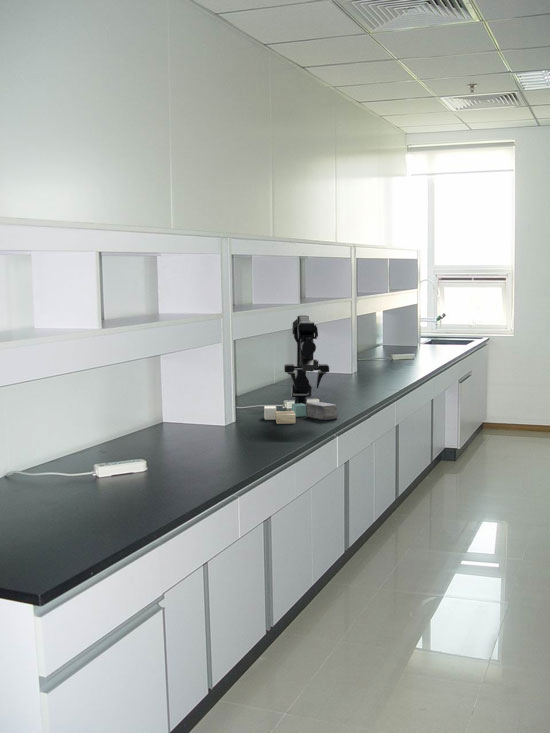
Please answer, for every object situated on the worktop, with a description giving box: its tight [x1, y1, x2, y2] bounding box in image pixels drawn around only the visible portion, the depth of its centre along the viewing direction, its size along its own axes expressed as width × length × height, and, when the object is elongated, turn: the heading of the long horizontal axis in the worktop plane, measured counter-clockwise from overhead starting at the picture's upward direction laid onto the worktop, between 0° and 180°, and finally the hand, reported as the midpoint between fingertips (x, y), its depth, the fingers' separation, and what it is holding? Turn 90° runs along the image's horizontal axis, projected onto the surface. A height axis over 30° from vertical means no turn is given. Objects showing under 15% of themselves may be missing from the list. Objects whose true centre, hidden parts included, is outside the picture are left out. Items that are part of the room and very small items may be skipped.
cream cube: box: [263, 405, 277, 421], centre depth 352 cm, size 5×5×5 cm
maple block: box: [275, 410, 297, 425], centre depth 346 cm, size 8×8×4 cm
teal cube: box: [291, 403, 307, 418], centre depth 359 cm, size 5×5×5 cm
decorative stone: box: [306, 401, 339, 421], centre depth 352 cm, size 15×7×10 cm
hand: (306, 388), depth 342 cm, fingers open, 9 cm apart
